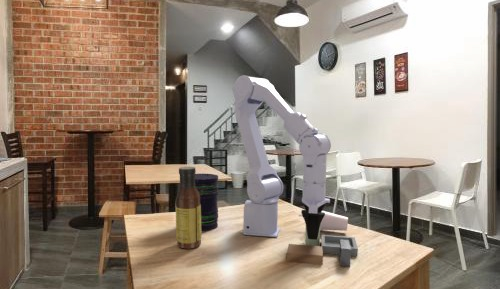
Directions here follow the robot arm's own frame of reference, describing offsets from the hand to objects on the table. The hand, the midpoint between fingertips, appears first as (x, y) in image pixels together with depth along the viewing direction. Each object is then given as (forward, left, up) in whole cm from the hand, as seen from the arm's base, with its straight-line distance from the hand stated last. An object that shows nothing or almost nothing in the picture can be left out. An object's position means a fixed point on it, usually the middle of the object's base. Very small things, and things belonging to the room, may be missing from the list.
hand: (312, 234), depth 93 cm
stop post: (+7, -9, -3) cm, 12 cm away
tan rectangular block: (-2, -9, -3) cm, 10 cm away
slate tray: (+6, -1, -3) cm, 7 cm away
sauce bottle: (-31, -8, -3) cm, 32 cm away
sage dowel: (0, 0, -3) cm, 3 cm away
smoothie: (+10, +12, 0) cm, 15 cm away
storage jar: (-33, +8, -3) cm, 34 cm away
